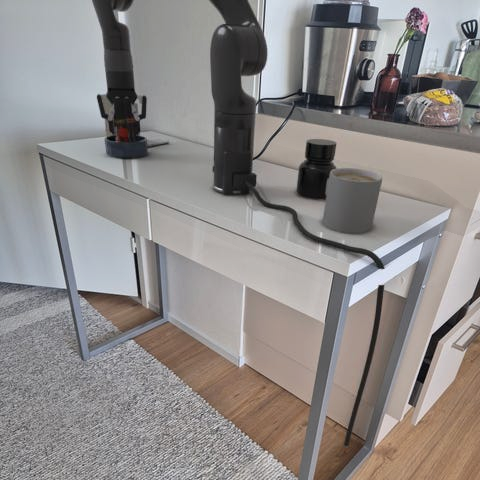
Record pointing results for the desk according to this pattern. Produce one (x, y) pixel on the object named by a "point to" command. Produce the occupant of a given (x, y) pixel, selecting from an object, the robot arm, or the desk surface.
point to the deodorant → (124, 120)
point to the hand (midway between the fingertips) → (125, 134)
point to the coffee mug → (351, 200)
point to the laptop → (150, 140)
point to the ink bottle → (316, 168)
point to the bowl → (126, 147)
